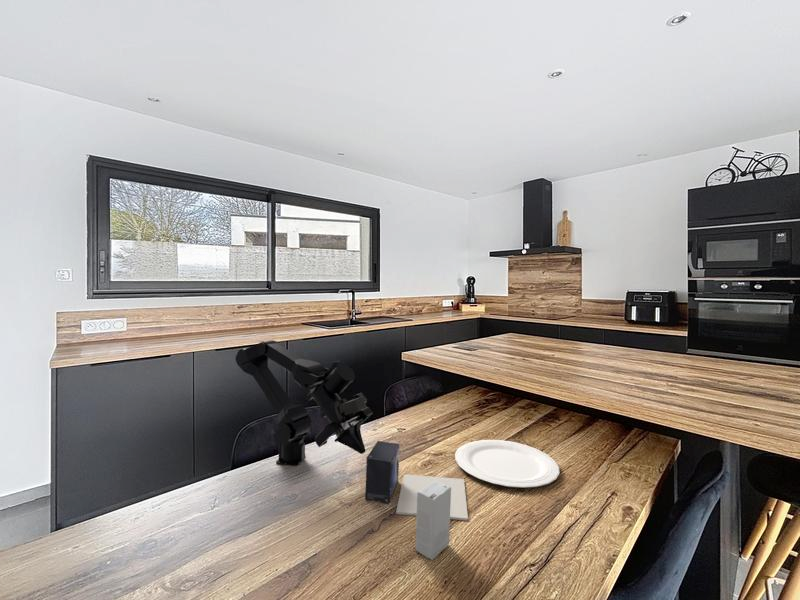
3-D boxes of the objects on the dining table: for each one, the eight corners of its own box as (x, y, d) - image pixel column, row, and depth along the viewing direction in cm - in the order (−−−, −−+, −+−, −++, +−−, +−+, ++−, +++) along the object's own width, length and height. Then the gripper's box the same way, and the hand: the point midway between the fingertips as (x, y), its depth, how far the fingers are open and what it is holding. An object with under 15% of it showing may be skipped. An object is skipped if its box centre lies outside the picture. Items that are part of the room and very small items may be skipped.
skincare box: (432, 535, 78) (433, 478, 78) (450, 545, 75) (452, 486, 75) (413, 551, 74) (415, 490, 73) (432, 562, 71) (434, 499, 70)
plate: (574, 466, 111) (575, 460, 110) (532, 508, 89) (532, 500, 89) (486, 437, 130) (486, 432, 130) (434, 465, 109) (434, 459, 109)
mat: (396, 513, 85) (396, 511, 85) (403, 476, 102) (404, 474, 102) (467, 520, 83) (467, 518, 83) (463, 481, 100) (463, 479, 100)
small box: (390, 504, 89) (391, 461, 88) (364, 501, 90) (365, 457, 90) (399, 481, 99) (400, 442, 99) (375, 478, 101) (376, 440, 100)
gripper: (324, 394, 91) (362, 449, 86) (367, 378, 107) (400, 423, 103) (299, 420, 95) (334, 474, 90) (344, 401, 111) (375, 446, 107)
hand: (363, 452), depth 97 cm, fingers closed
